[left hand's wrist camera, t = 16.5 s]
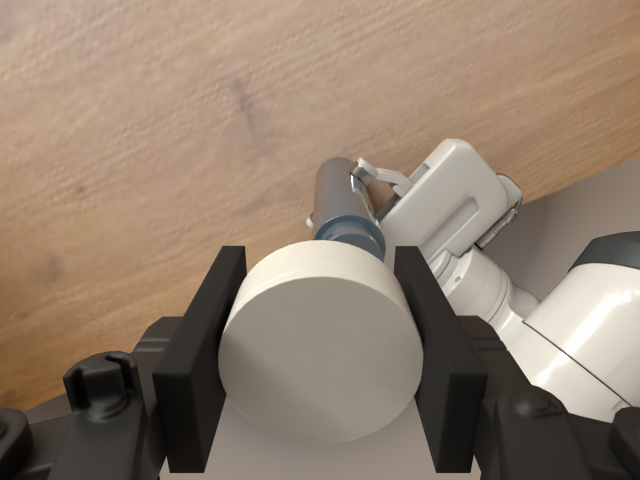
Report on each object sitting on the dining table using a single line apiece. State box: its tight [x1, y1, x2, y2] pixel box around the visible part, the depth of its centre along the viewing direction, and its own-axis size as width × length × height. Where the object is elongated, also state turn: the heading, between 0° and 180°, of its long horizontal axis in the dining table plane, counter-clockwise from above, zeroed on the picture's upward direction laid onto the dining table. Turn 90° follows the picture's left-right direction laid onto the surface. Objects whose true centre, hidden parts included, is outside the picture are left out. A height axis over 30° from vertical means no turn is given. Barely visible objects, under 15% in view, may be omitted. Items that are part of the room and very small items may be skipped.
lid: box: [218, 240, 424, 444], centre depth 12 cm, size 5×5×2 cm
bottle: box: [312, 157, 386, 263], centre depth 32 cm, size 4×4×20 cm
